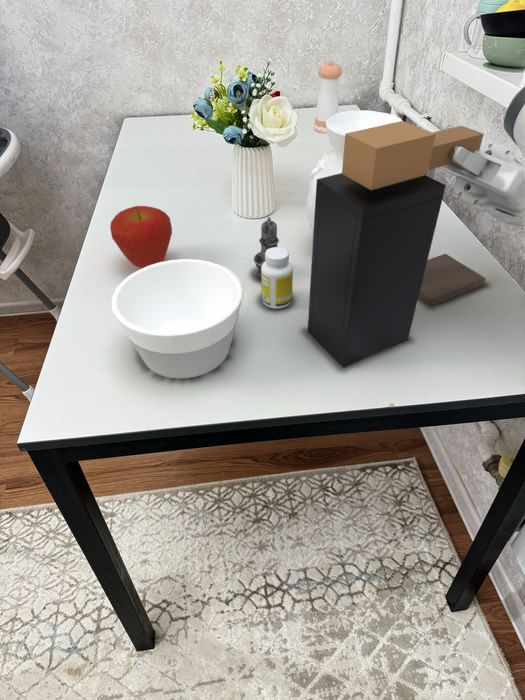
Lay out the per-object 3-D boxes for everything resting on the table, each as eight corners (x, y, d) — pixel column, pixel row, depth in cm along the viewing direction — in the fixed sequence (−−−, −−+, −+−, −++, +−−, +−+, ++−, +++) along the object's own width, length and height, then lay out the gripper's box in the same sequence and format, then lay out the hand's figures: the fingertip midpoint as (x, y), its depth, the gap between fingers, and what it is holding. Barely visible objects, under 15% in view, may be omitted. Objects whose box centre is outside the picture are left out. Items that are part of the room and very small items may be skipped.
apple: (118, 283, 93) (104, 225, 85) (122, 253, 101) (109, 198, 93) (177, 277, 94) (168, 219, 86) (176, 249, 102) (168, 193, 94)
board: (483, 284, 91) (485, 278, 90) (430, 306, 86) (432, 299, 85) (443, 260, 97) (445, 253, 96) (392, 278, 93) (394, 271, 92)
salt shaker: (327, 124, 158) (332, 57, 146) (342, 131, 154) (348, 61, 141) (309, 129, 156) (313, 60, 143) (324, 135, 151) (328, 65, 138)
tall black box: (408, 340, 79) (446, 185, 62) (342, 368, 75) (364, 209, 57) (369, 307, 86) (393, 159, 68) (307, 331, 81) (316, 179, 64)
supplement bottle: (295, 295, 89) (297, 247, 82) (286, 312, 85) (288, 263, 79) (267, 289, 90) (266, 242, 84) (257, 306, 87) (256, 258, 80)
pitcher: (393, 278, 92) (420, 143, 76) (297, 268, 96) (302, 135, 79) (396, 231, 106) (419, 107, 89) (311, 223, 109) (318, 102, 92)
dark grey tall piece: (290, 271, 95) (291, 214, 87) (274, 286, 91) (274, 228, 83) (264, 263, 97) (263, 206, 89) (248, 277, 94) (245, 219, 85)
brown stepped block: (483, 159, 66) (494, 119, 62) (371, 190, 59) (376, 148, 56) (450, 145, 70) (459, 107, 66) (341, 173, 63) (345, 133, 60)
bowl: (246, 310, 86) (243, 256, 79) (245, 389, 72) (242, 333, 64) (136, 312, 86) (124, 259, 79) (114, 393, 72) (96, 337, 64)
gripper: (449, 136, 79) (398, 101, 70) (562, 181, 65) (517, 145, 56) (427, 174, 81) (376, 145, 72) (532, 224, 68) (484, 196, 59)
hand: (438, 145), depth 64 cm, fingers closed on brown stepped block, 4 cm apart
